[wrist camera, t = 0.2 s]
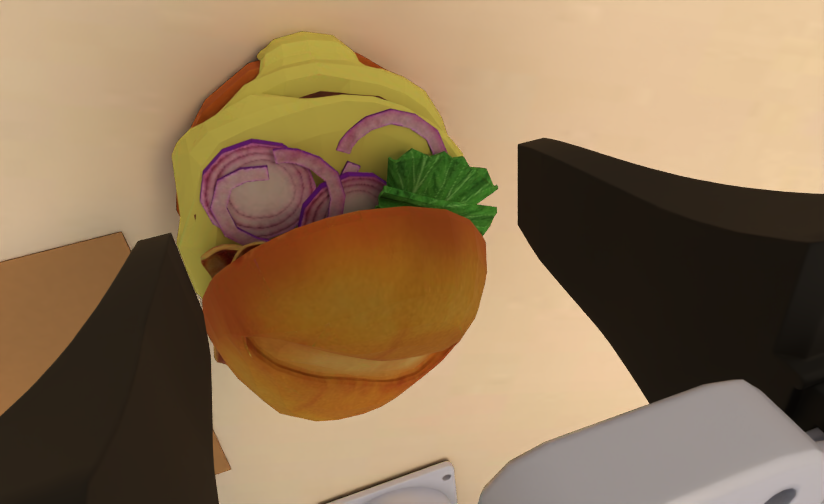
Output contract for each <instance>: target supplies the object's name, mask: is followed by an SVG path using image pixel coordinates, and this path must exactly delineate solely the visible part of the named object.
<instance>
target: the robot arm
mask: <svg viewBox="0 0 824 504" xmlns="http://www.w3.org/2000/svg"><path fill="white" fill-rule="evenodd" d="M518 226H519V227H520V229H521V231H522V233H523V234H524V236H525V238H526V239H527V241H528V243H529V244H530V246H531V247H532V249H533V250H534V252H535V254H536V255H537V257H538V258H539V260H540V261H541V262H542V263H543V264H544V266H545V267H546V268H547V269H548V270H549V272H550V273H551V274H552V275H553V276H554V277H555V279H556V280H557V281H558V282H559V283H560V285H561V286H562V287H563V288H564V289H565V290H566V291H567V293H568V294H569V295H570V296H571V297H572V298H573V300H574V301H575V302H576V303H577V304H578V305H579V306H580V308H581V309H582V310H583V311H584V312H585V313H586V315H587V316H588V317H589V318H590V319H591V320H592V321H593V323H594V324H595V325H596V326H597V327H598V329H599V330H600V331H601V332H602V334H603V335H604V336H605V338H606V339H607V340H608V341H609V343H610V344H611V346H612V347H613V349H614V350H615V352H616V353H617V355H618V356H619V357H620V359H621V360H622V362H623V363H624V365H625V366H626V368H627V369H628V371H629V372H630V374H631V375H632V377H633V378H634V380H635V381H636V383H637V385H638V386H639V388H640V389H641V391H642V393H643V394H644V396H645V397H646V399H647V400H648V402H649V404H648V405H645V406H643V407H640V408H637V409H634V410H631V411H629V412H626V413H623V414H620V415H618V416H615V417H612V418H609V419H607V420H604V421H601V422H598V423H596V424H593V425H590V426H587V427H585V428H582V429H579V430H576V431H574V432H571V433H568V434H565V435H563V436H560V437H557V438H554V439H551V440H549V441H546V442H544V443H542V444H540V445H538V446H536V447H534V448H533V449H531V450H529V451H527V452H525V453H523V454H522V455H520V456H518V457H516V458H514V459H512V460H510V461H509V462H508V463H507V464H506V465H505V466H504V467H503V468H502V469H501V470H500V471H499V472H498V473H497V474H496V475H495V476H494V478H493V479H492V480H491V481H490V482H489V483H488V484H487V485H486V486H485V487H484V489H483V491H482V493H481V495H480V498H479V502H478V504H824V194H810V193H795V192H782V191H772V190H763V189H753V188H745V187H738V186H731V185H725V184H719V183H714V182H708V181H703V180H697V179H692V178H687V177H683V176H678V175H674V174H671V173H667V172H663V171H659V170H655V169H651V168H647V167H644V166H640V165H637V164H633V163H630V162H627V161H623V160H620V159H617V158H614V157H610V156H607V155H604V154H601V153H598V152H594V151H591V150H588V149H585V148H582V147H578V146H575V145H572V144H568V143H565V142H561V141H557V140H553V139H548V138H541V139H537V140H533V141H529V142H525V143H521V144H518ZM0 504H219V501H218V494H217V487H216V479H215V471H214V457H213V424H212V382H211V355H210V349H209V342H208V336H207V331H206V325H205V319H204V313H203V311H202V308H201V306H200V303H199V301H198V299H197V296H196V294H195V291H194V289H193V286H192V284H191V281H190V279H189V276H188V274H187V271H186V269H185V266H184V264H183V261H182V259H181V256H180V254H179V251H178V249H177V246H176V244H175V241H174V239H173V236H172V234H171V233H168V234H164V235H160V236H156V237H152V238H148V239H144V240H141V241H138V242H137V243H136V245H135V247H134V248H133V250H132V251H131V253H130V254H129V256H128V258H127V259H126V261H125V263H124V264H123V266H122V268H121V269H120V271H119V272H118V274H117V276H116V277H115V279H114V281H113V282H112V284H111V286H110V287H109V289H108V290H107V292H106V293H105V295H104V296H103V298H102V299H101V301H100V303H99V304H98V306H97V307H96V309H95V310H94V311H93V313H92V314H91V315H90V317H89V318H88V320H87V321H86V322H85V324H84V325H83V326H82V328H81V329H80V330H79V332H78V333H77V334H76V336H75V337H74V339H73V340H72V341H71V342H70V344H69V345H68V346H67V347H66V349H65V350H64V351H63V352H62V353H61V355H60V356H59V357H58V358H57V359H56V360H55V362H54V363H53V364H52V365H51V366H50V367H49V368H48V369H47V370H46V371H45V373H44V374H43V375H42V376H41V377H40V378H39V379H38V380H37V381H36V382H35V383H34V384H33V385H32V386H31V388H30V389H29V390H28V391H27V392H25V393H24V394H23V395H22V396H21V397H20V398H19V399H18V400H17V401H16V402H15V403H14V404H13V405H12V406H11V407H9V408H8V409H7V410H6V411H5V412H4V413H3V414H2V415H1V416H0ZM327 504H458V503H457V493H456V483H455V473H454V468H453V465H452V463H451V462H449V461H444V462H441V463H438V464H436V465H433V466H430V467H427V468H424V469H422V470H419V471H416V472H413V473H410V474H408V475H405V476H402V477H399V478H396V479H394V480H391V481H388V482H385V483H382V484H380V485H377V486H374V487H371V488H368V489H366V490H363V491H360V492H357V493H354V494H352V495H349V496H346V497H343V498H340V499H338V500H335V501H332V502H329V503H327Z"/></svg>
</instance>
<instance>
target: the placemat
mask: <svg viewBox="0 0 824 504" xmlns="http://www.w3.org/2000/svg"><path fill="white" fill-rule="evenodd" d="M130 253H131V251H130V249H129V247H128V245H127V243H126V241H125V238H124V236H123V234H122V232H119V233H115V234H111V235H107V236H103V237H99V238H95V239H91V240H87V241H83V242H79V243H75V244H71V245H67V246H63V247H59V248H55V249H51V250H47V251H43V252H39V253H35V254H31V255H27V256H23V257H19V258H15V259H11V260H7V261H3V262H0V416H1V415H2V414H3V413H4V412H5V411H6V410H7V409H8V408H9V407H11V406H12V405H13V404H14V403H15V402H16V401H17V400H18V399H19V398H20V397H21V396H22V395H23V394H24V393H25V392H27V391H28V390H29V389H30V388H31V386H32V385H33V384H34V383H35V382H36V381H37V380H38V379H39V378H40V377H41V376H42V375H43V374H44V373H45V371H46V370H47V369H48V368H49V367H50V366H51V365H52V364H53V363H54V362H55V360H56V359H57V358H58V357H59V356H60V355H61V353H62V352H63V351H64V350H65V349H66V347H67V346H68V345H69V344H70V342H71V341H72V340H73V339H74V337H75V336H76V334H77V333H78V332H79V330H80V329H81V328H82V326H83V325H84V324H85V322H86V321H87V320H88V318H89V317H90V315H91V314H92V313H93V311H94V310H95V309H96V307H97V306H98V304H99V303H100V301H101V299H102V298H103V296H104V295H105V293H106V292H107V290H108V289H109V287H110V286H111V284H112V282H113V281H114V279H115V277H116V276H117V274H118V272H119V271H120V269H121V268H122V266H123V264H124V263H125V261H126V259H127V258H128V256H129V254H130ZM213 457H214V471H215V475H216V474H219V473H222V472H225V471H228V470H231V468H230V466H229V463H228V461H227V459H226V457H225V455H224V453H223V450H222V448H221V446H220V444H219V442H218V440H217V437H216V435H215V433H214V431H213Z"/></svg>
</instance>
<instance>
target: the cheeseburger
mask: <svg viewBox="0 0 824 504" xmlns="http://www.w3.org/2000/svg"><path fill="white" fill-rule="evenodd" d="M257 58H258V59H259V60H258V61H255V62H252V63H248V64H247V65H246V66H244V67H243V68H242V69H241V70H240V71H239V72H237V73H236V74H235V75H234V76H233V77H231V78H230V79H229V80H228V81H227V82H226V83H224V84H223V85H222V86H221V87H220V88H218V89H217V90H216V91H215V92H214V93H213V94H211V95H210V96H209V97H208V98H207V99H206V100H205V101H204V103H203V105H202V107H201V109H200V110H199V112H198V114H197V116H196V118H195V120H194V122H193V124H192V126H191V128H190V129H189V130H188V131H187V132H186V133H185V135H184V136H183V137H181V138H180V139H179V141H178V142H177V143H176V146H175V148H174V150H173V153H172V162H173V170H174V177H175V184H176V191H177V195H176V210H177V212H178V214H179V216H180V222H179V229H178V236H177V246H178V249H179V251H180V255H181V257H182V259H183V262H184V265H185V267H186V270H187V272H188V275H189V277H190V280H191V282H192V284H193V287H194V289H195V292H196V293H197V294H198V295H200V297H201V298H202V305H203V313H204V319H205V325H206V331H207V334H208V336H209V338H210V340H211V341H212V343H213V345H214V358H215V360H216V361H217V362H219V363H223V364H226V365H228V366H229V368H230V369H231V370H232V372H233V373H234V374H235V375H236V377H237V378H238V379H239V380H240V381H241V382H243V383H244V384H245V385H246V386H247V387H248V388H249V389H251V390H252V391H253V392H254V393H255V394H256V395H257V396H259V397H260V398H261V399H262V400H263V401H264V402H266V403H267V404H268V405H270V406H271V407H272V408H274V409H275V410H276V411H278V412H279V413H281V414H285V415H290V416H294V417H299V418H304V419H308V420H313V421H327V420H339V419H343V418H347V417H352V416H356V415H360V414H364V413H366V412H369V411H371V410H374V409H376V408H379V407H381V406H383V405H385V404H386V403H388V402H390V401H391V400H393V399H395V398H396V397H397V396H399V395H400V394H401V393H403V392H404V391H405V390H406V389H408V388H409V387H410V386H412V385H413V384H414V383H415V382H417V381H418V380H419V379H421V378H422V377H423V376H424V375H426V374H427V373H428V372H429V371H430V370H432V369H433V368H434V367H435V366H436V365H438V364H439V363H440V362H441V361H442V360H443V359H444V358H445V357H446V356H447V354H448V353H449V352H450V351H451V350H452V349H453V347H454V346H455V345H456V344H457V343H458V342H459V341H460V340H461V338H462V337H463V335H464V334H465V332H466V331H467V329H468V328H469V326H470V325H471V323H472V322H473V320H474V319H475V316H476V314H477V311H478V308H479V304H480V300H481V296H482V293H483V289H484V285H485V280H486V274H487V263H486V242H485V240H484V238H483V235H484V234H485V232H486V231H487V229H488V228H489V227H490V225H491V223H492V220H493V218H494V216H495V215H496V213H497V207H491V206H484V205H477V204H478V203H479V202H480V201H482V200H483V199H485V198H486V197H487V196H489V195H490V194H492V193H493V192H494V191H496V190H497V189H498V186H497V185H495V186H494V185H493V183H492V181H491V179H490V176H489V174H488V171H487V169H486V168H477V167H469V165H468V163H467V162H466V160H465V158H464V156H463V153H462V152H461V151H460V150H459V148H458V147H457V146H456V145H455V143H454V142H453V141H452V140H451V139H450V137H449V136H448V135H447V132H446V129H445V126H444V123H443V120H442V117H441V116H440V114H439V112H438V111H437V109H436V108H435V106H434V105H433V103H432V101H431V100H430V98H429V97H428V95H427V93H426V92H425V91H424V90H423V89H421V88H420V87H418V86H416V85H415V84H413V83H412V82H410V81H409V80H407V79H406V78H404V77H402V76H400V75H397V74H395V73H392V72H389V71H387V70H386V69H384V68H382V67H380V66H379V65H377V64H375V63H374V62H372V61H370V60H369V59H367V58H365V57H363V56H361V55H359V54H358V53H354V52H353V51H352V50H351V49H350V48H349V47H347V46H346V45H345V44H343V43H342V42H341V41H339V40H338V39H337V38H335V37H334V36H333V35H327V34H319V33H311V32H303V31H302V32H298V33H295V34H291V35H288V36H284V37H281V38H277V39H273V40H272V41H271V42H270V43H269V44H268V45H267V47H266V48H264V49H263V50H261V51H260V52H259V53H258V55H257Z"/></svg>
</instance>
